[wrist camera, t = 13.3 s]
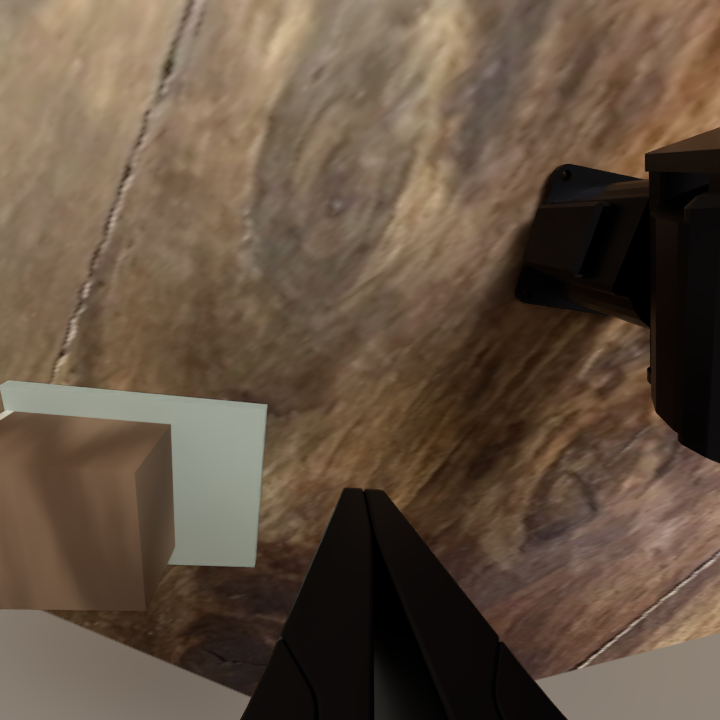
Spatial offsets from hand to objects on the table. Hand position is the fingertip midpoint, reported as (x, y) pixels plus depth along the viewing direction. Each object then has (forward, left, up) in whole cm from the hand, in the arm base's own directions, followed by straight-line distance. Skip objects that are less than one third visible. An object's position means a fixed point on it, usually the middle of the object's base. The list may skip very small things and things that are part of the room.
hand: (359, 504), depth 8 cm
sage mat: (+10, +11, -12) cm, 19 cm away
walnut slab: (+8, +11, -10) cm, 17 cm away
